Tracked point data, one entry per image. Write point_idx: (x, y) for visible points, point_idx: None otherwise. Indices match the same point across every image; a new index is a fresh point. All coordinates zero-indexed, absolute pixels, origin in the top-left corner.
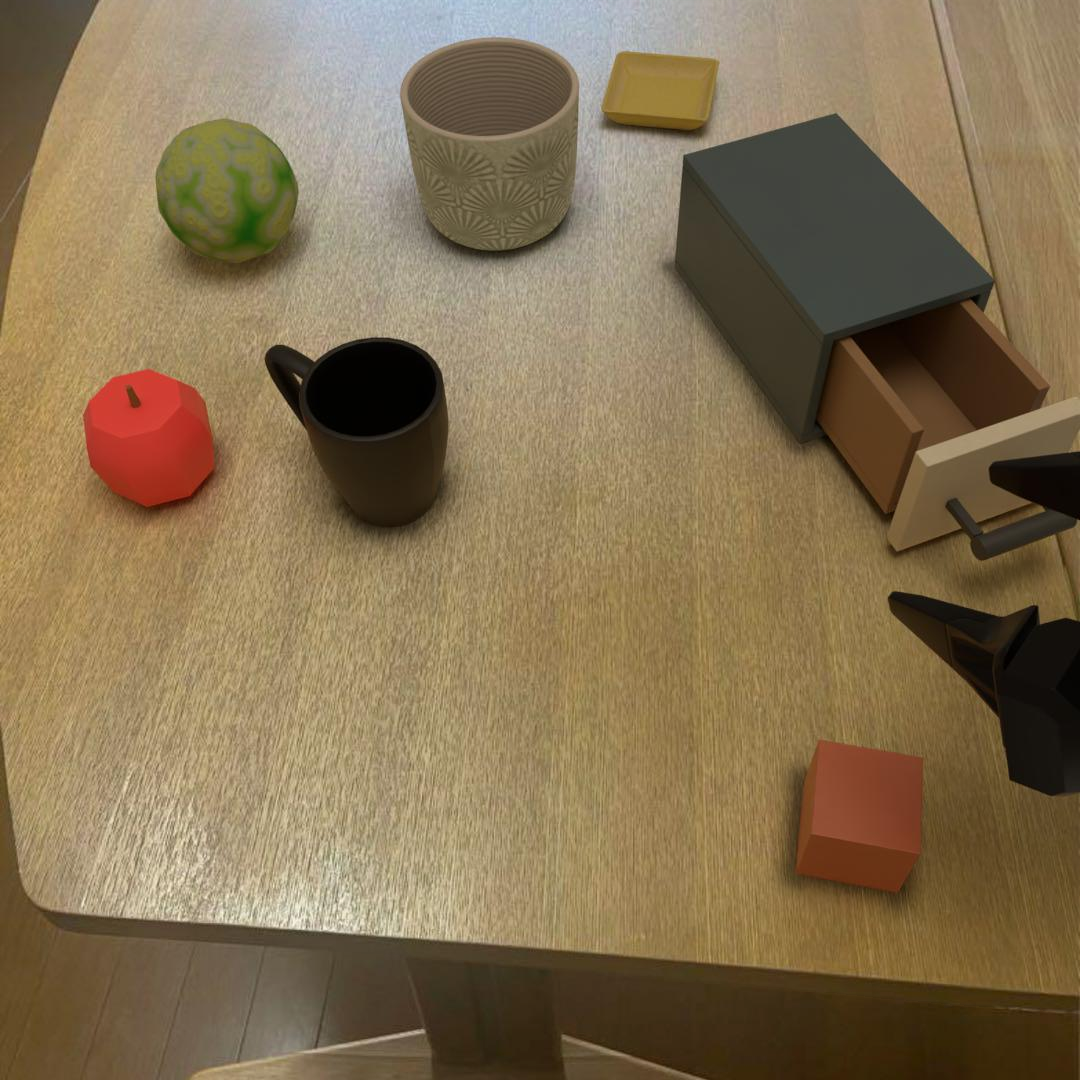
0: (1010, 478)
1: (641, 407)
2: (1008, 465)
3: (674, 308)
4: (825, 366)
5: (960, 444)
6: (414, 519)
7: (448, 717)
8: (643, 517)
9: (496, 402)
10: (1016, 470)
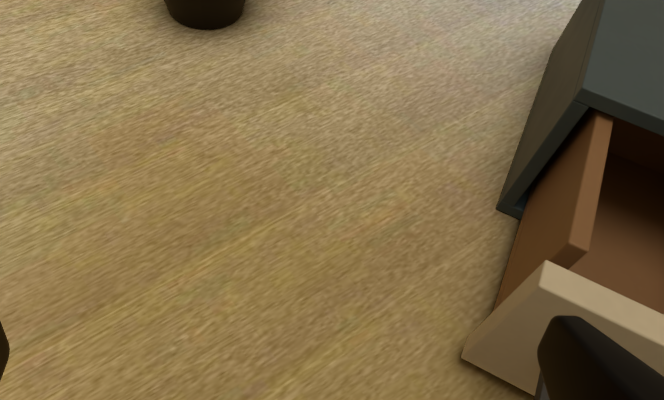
0: (574, 380)
1: (415, 92)
2: (593, 347)
3: (520, 67)
4: (562, 136)
5: (614, 304)
6: (190, 25)
7: (13, 127)
8: (314, 145)
9: (333, 20)
10: (600, 375)
